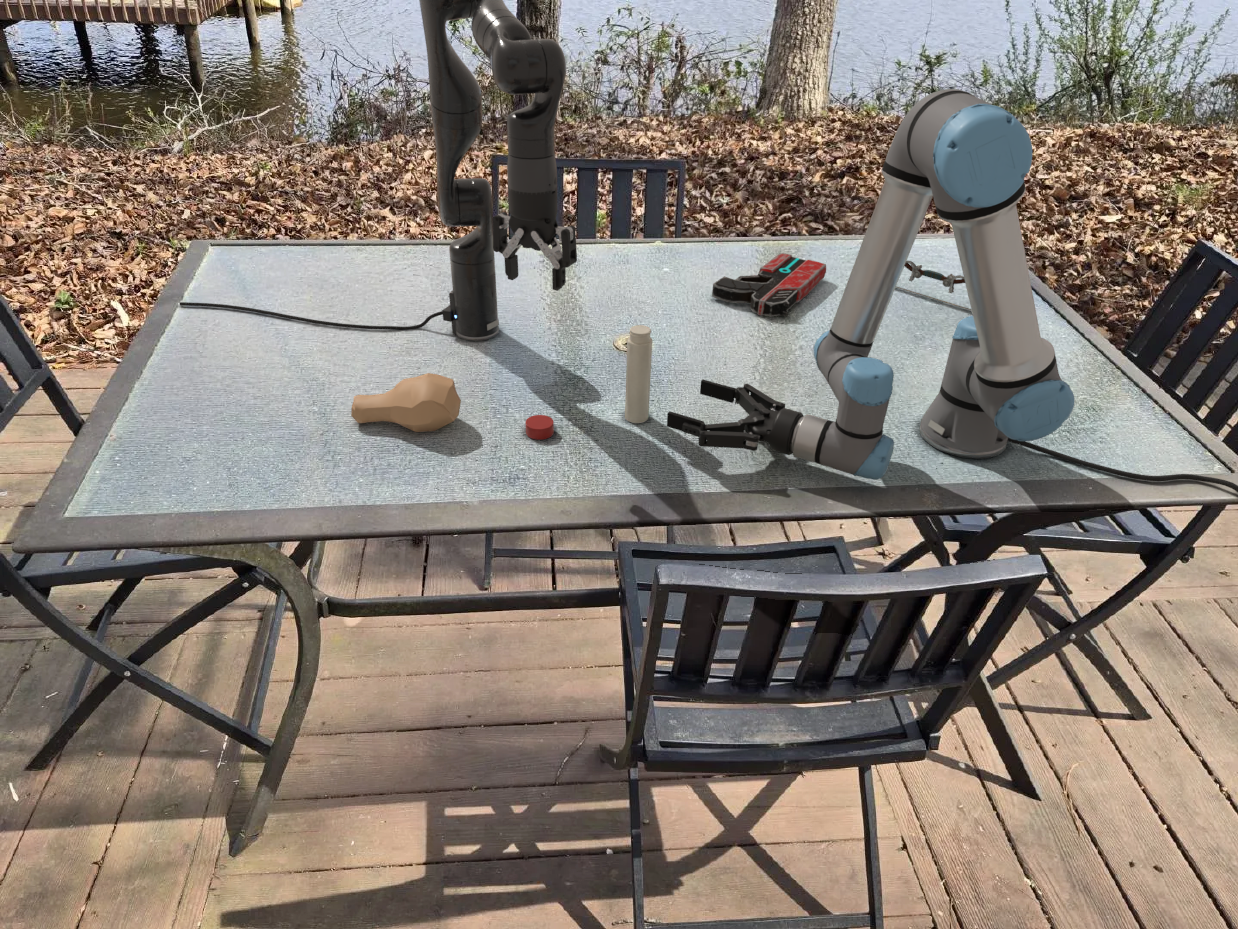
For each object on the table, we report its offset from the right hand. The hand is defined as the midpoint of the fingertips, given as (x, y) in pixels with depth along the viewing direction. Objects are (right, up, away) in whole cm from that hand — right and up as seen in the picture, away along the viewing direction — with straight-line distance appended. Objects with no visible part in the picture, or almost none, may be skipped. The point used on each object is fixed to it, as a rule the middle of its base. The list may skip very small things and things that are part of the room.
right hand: (685, 402), depth 157 cm
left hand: (-26, +18, -14) cm, 34 cm away
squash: (-50, -4, +3) cm, 51 cm away
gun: (+26, +32, +59) cm, 72 cm away
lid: (-26, -4, +1) cm, 26 cm away
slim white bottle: (-9, -2, +7) cm, 11 cm away
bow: (+64, +30, +58) cm, 92 cm away
